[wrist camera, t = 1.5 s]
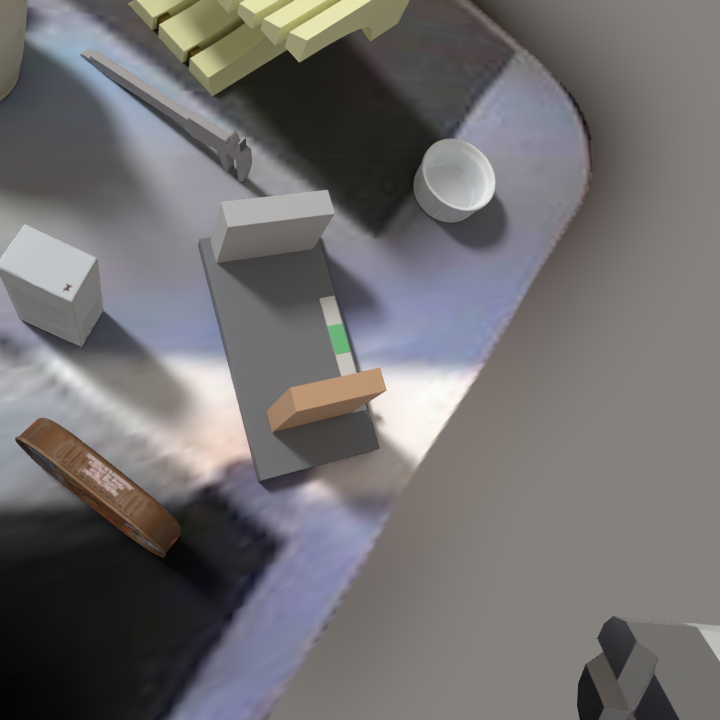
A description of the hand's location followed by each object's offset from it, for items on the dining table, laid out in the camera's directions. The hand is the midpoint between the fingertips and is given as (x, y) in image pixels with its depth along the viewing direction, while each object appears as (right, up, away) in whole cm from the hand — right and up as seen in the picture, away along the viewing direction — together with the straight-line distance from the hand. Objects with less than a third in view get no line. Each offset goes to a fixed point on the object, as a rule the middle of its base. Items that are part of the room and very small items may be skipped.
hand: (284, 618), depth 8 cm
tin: (-21, -8, +51) cm, 56 cm away
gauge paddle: (-3, -2, +57) cm, 57 cm away
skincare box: (-26, +7, +54) cm, 60 cm away
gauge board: (-6, +4, +59) cm, 60 cm away
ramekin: (+11, +22, +71) cm, 75 cm away
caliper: (-19, +28, +62) cm, 71 cm away
